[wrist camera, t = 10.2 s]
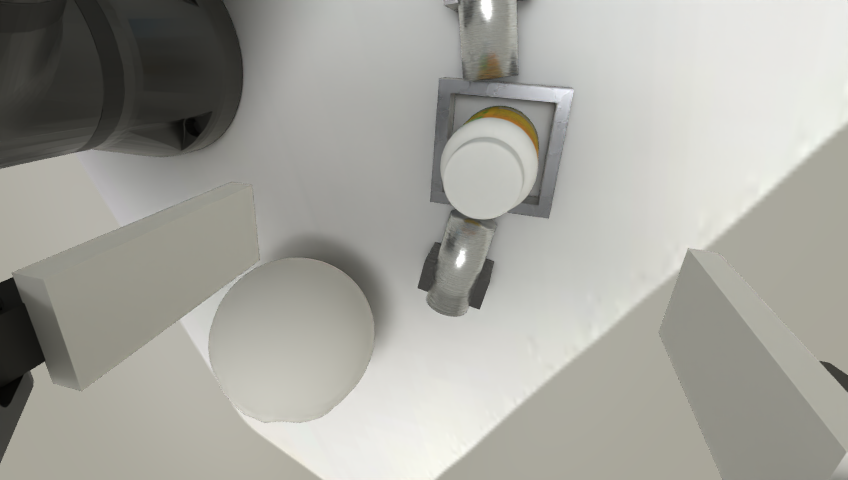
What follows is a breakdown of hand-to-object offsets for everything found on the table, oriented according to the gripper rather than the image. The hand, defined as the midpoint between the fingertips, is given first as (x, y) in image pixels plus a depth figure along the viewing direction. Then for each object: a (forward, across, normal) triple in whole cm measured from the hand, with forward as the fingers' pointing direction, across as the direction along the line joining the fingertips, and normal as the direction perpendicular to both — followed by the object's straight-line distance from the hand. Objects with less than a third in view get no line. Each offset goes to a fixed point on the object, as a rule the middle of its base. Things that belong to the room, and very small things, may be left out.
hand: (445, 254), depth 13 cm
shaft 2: (+19, -1, -8) cm, 20 cm away
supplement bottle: (+19, 0, 0) cm, 19 cm away
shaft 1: (+19, -1, +8) cm, 20 cm away
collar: (+19, 0, 0) cm, 19 cm away
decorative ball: (+19, -13, -15) cm, 27 cm away
